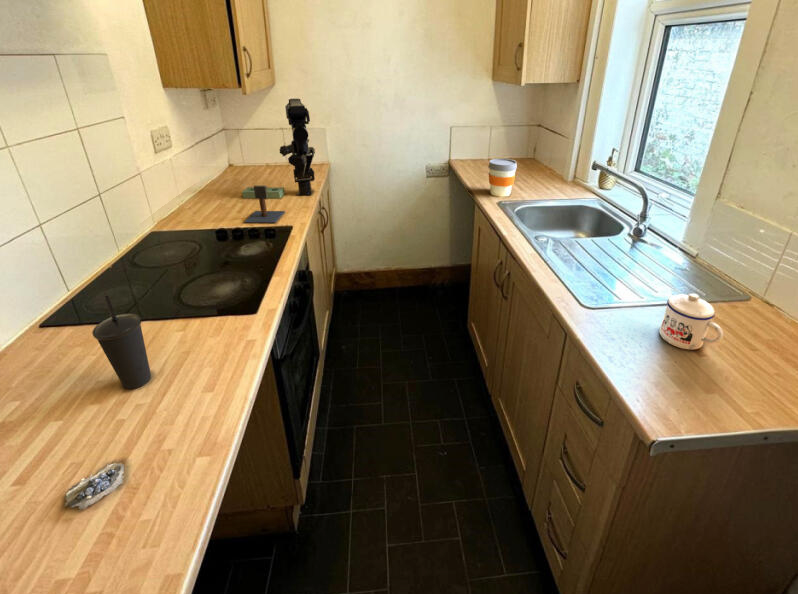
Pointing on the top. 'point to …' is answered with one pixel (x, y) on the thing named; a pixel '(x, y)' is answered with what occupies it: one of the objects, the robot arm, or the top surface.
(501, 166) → the reusable coffee cup
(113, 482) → the blueberries
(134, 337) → the drinking cup
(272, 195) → the rack
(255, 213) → the mat
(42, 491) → the top surface
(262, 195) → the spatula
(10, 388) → the top surface
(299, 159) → the robot arm
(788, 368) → the top surface
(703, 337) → the teacup with lid
